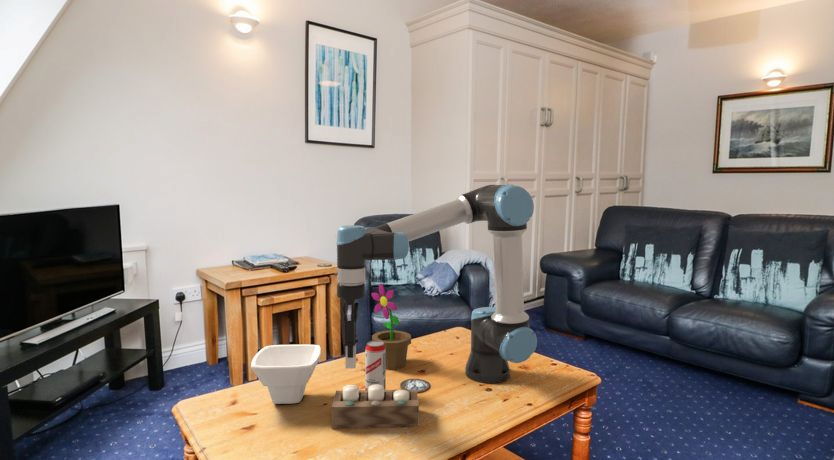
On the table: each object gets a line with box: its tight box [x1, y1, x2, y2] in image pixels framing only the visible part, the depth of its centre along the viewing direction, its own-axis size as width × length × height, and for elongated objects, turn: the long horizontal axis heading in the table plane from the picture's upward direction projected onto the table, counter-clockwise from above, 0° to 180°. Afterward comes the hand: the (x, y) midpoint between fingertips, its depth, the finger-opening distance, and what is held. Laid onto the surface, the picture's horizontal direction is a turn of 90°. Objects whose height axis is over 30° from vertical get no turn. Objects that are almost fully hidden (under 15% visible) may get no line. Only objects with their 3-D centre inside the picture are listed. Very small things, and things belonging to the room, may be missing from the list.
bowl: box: [250, 343, 322, 405], centre depth 143 cm, size 19×19×14 cm
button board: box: [331, 389, 420, 430], centre depth 132 cm, size 23×10×6 cm, turn 93°
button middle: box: [368, 384, 384, 401], centre depth 133 cm, size 4×4×5 cm
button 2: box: [394, 389, 409, 400], centre depth 133 cm, size 4×4×5 cm
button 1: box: [342, 384, 360, 401], centre depth 132 cm, size 4×4×5 cm
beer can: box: [364, 340, 387, 390], centre depth 147 cm, size 6×6×16 cm
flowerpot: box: [371, 283, 412, 371], centre depth 171 cm, size 14×14×30 cm
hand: (350, 367), depth 131 cm, fingers closed
